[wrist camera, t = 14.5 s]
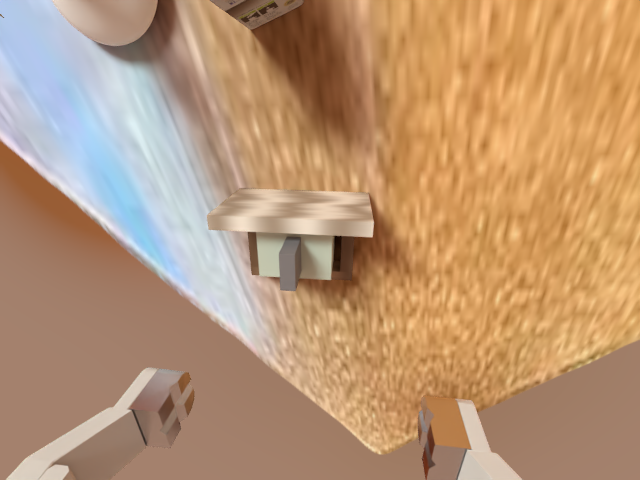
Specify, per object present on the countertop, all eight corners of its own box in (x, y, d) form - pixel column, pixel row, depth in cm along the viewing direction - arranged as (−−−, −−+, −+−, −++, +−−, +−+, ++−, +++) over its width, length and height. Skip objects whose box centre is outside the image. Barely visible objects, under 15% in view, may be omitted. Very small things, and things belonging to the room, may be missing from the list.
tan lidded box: (368, 192, 38) (373, 222, 29) (362, 269, 42) (365, 316, 33) (240, 188, 39) (206, 215, 30) (247, 263, 44) (220, 306, 35)
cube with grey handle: (335, 205, 39) (329, 246, 28) (334, 248, 42) (328, 301, 31) (273, 202, 40) (243, 242, 29) (275, 245, 42) (249, 296, 31)
